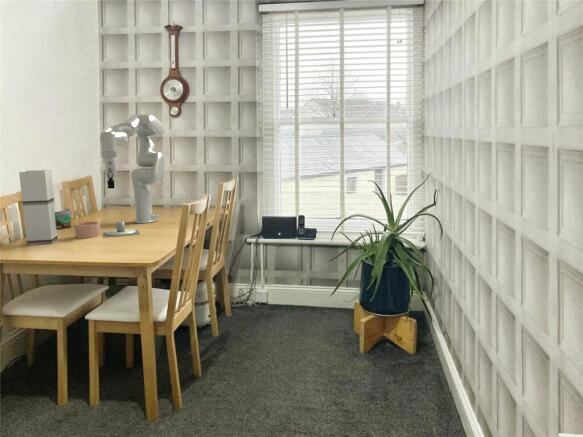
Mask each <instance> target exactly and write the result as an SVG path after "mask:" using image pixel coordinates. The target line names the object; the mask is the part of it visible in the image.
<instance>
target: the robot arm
mask: <svg viewBox="0 0 583 437" xmlns="http://www.w3.org/2000/svg"><path fill="white" fill-rule="evenodd" d="M135 134H136V135H137V137H138V140H139V144H140V146H139V149H138V154H137V162H136V163H137V166H138V167H140V168H135V169H133V170H131V173H130V179H131V183H132V187H133V193H134V196H133V197H134V208H135V209H134V210H135V211H134V212H135V219H133V223H134V224H147V223H154V222H156V219H157V218H158V219H160V218H161V214H154V213H153V206H152V192H151V189H150V187H149V185H150V186H151V185H154V186H155V185H158V184H161V181H162V178H163V174H164V169H165V155H164V154H163V153H162V152H160V151H155V150H156V149H155V148H156V145H155V143H154V142H153V140H152V139H151V138H153V137H154V138H158V137H159V138H160V137H162V136H163V135H164V134H165V126H164V124H163V123H162V122H161V121H160V120H159V119H158V118H156V116H154V115H152V114H150V113H149V114H148V113H146V114H145V113H144V114H134V115H131V116H130V117H129V118H128V119H127V120H125V121H124V122H121V123H118V124H115V125H113V126H109V127H108V128H105V130H103V131H102V132H101V133H100V136H99V140H100V146H101V159H104V170H105V177H106V178H107V189H115V179H114V177H117V166H116V164H117V163H116V159H117V158H118V152H117V151H118V149H117V147H118V146H119V147H121V146H124V145H126V144H127V143H128V142H129V137H133V136H134V135H135Z"/></svg>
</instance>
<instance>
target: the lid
mask: <svg viewBox="0 0 583 437" xmlns="http://www.w3.org/2000/svg"><path fill="white" fill-rule="evenodd" d="M115 224H116V229H112V230H108V231H105V232H106V235H107V236H119V237H127V236H126V235H131V236H133V235H132V234H135V233H136V230H137V229H133V228H126V227H125V221H116V223H115Z"/></svg>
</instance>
